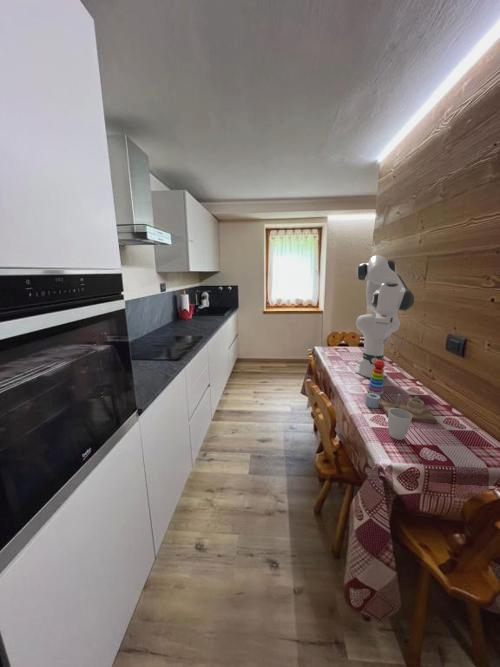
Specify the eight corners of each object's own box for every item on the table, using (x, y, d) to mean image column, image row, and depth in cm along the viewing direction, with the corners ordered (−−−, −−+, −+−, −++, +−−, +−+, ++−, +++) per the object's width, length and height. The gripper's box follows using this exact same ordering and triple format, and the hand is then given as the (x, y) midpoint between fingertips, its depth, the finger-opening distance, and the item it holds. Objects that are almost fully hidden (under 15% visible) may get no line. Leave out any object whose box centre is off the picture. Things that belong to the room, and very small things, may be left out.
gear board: (379, 402, 133) (382, 387, 132) (424, 408, 129) (427, 392, 127) (386, 416, 120) (389, 399, 118) (436, 423, 116) (440, 405, 114)
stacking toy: (384, 396, 140) (390, 363, 136) (368, 394, 142) (373, 361, 138) (380, 390, 148) (385, 358, 144) (365, 388, 149) (369, 357, 145)
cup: (413, 440, 103) (417, 417, 101) (396, 443, 101) (400, 420, 99) (396, 428, 111) (400, 407, 109) (380, 431, 109) (384, 409, 106)
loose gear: (364, 401, 134) (365, 392, 133) (377, 403, 133) (378, 393, 132) (366, 407, 128) (367, 397, 127) (379, 408, 127) (381, 399, 126)
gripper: (383, 315, 135) (380, 341, 138) (373, 318, 119) (370, 348, 122) (397, 316, 131) (393, 343, 134) (389, 320, 115) (385, 350, 118)
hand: (382, 345), depth 128 cm, fingers open, 8 cm apart
